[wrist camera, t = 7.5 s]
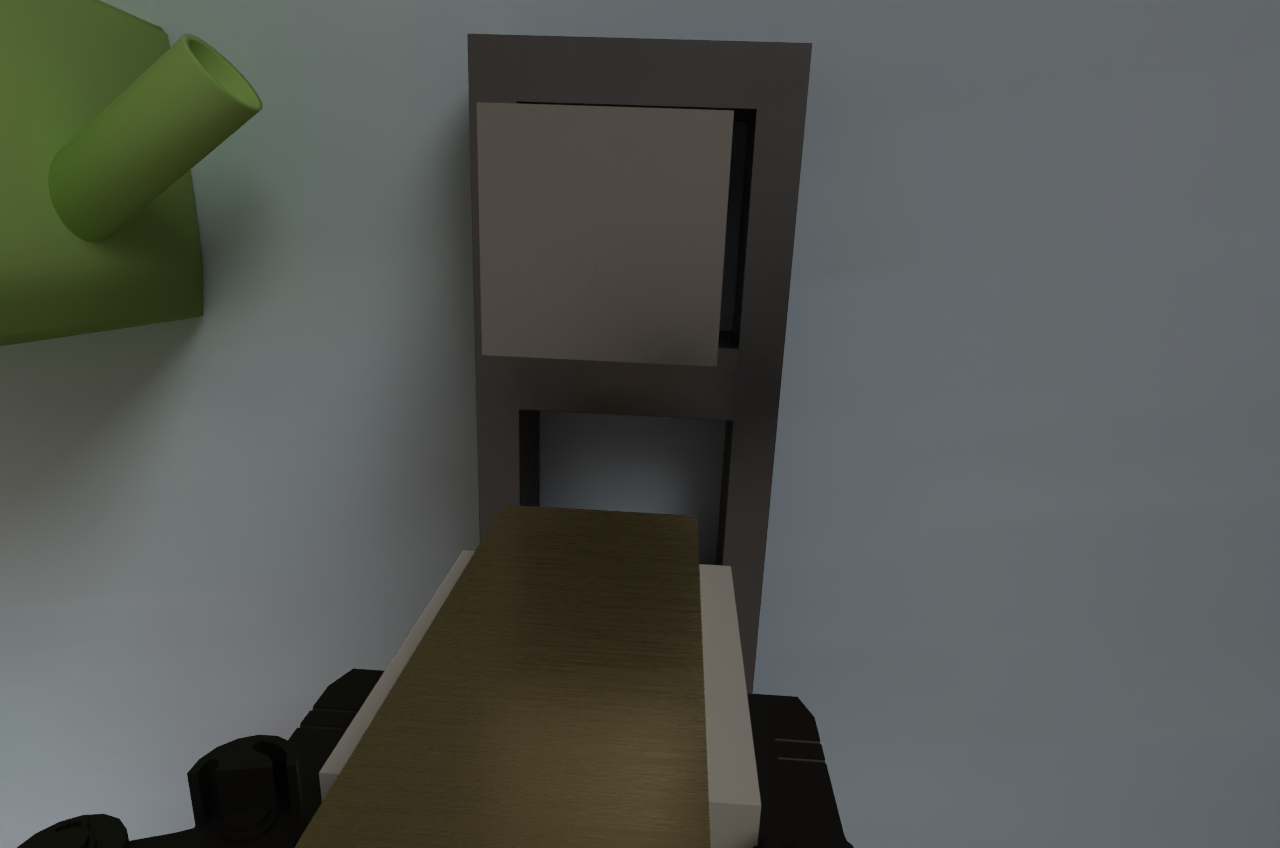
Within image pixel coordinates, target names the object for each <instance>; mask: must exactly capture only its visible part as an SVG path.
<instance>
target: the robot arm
mask: <svg viewBox="0 0 1280 848" xmlns="http://www.w3.org/2000/svg"><path fill="white" fill-rule="evenodd" d="M474 552H475V551H471V550H463V551H462V552H461V554H460V555H459V557H458V558H457V560H456V561H455V563H454V565H453V566H452V568H451V569H450V571H449V572H448V574H447V575H446V577H445V578H444V580H443V582H442V583H441V585H440V586H439V588H438V589H437V591H436V592H435V594H434V595H433V597H432V599H431V600H430V602H429V603H428V605H427V606H426V608H425V609H424V611H423V612H422V614H421V616H420V617H419V619H418V620H417V622H416V623H415V625H414V626H413V628H412V630H411V631H410V633H409V634H408V636H407V637H406V639H405V640H404V642H403V643H402V645H401V647H400V648H399V650H398V651H397V653H396V654H395V656H394V657H393V659H392V660H391V662H390V664H389V665H388V667H387V668H386V670H385V671H380V670H365V669H352V670H351V671H349V672H348V673H346V674H345V675H343V676H342V677H341V678H339V679H338V680H336V681H335V682H333V683H332V684H330V685H329V686H328V687H327V689H326V690H325V691H324V693H323V694H322V695H321V697H320V698H319V699H318V701H317V702H316V703H315V705H314V706H313V710H312V711H309V713H308V714H307V716H306V717H305V718H304V720H303V721H302V722H301V725H300V728H297V729H296V730H295V732H294V733H293V734H292V736H291V737H290V738H289V740H285V739H283V738H281V737H278V736H269V735H255V736H250V737H245V738H239V739H236V740H234V741H231V742H229V743H226V744H224V745H221V746H219V747H217V748H215V749H214V750H212V751H211V752H209V753H208V754H206V755H205V756H203V757H202V758H200V759H199V760H198V761H197V763H196V764H195V765H194V766H193V767H192V768H191V770H190V771H189V772H188V773H187V776H188V782H189V788H190V794H191V800H192V807H193V813H194V819H195V827H194V828H193V829H189V830H185V831H181V832H177V833H172V834H166V835H160V836H155V837H149V838H144V839H138V840H133V841H129V839H128V834H127V829H126V827H125V826H124V825H123V823H122V822H121V820H120V819H118V818H115V817H112V816H109V815H106V814H94V815H82V816H78V817H75V818H72V819H68V820H65V821H61V822H58V823H56V824H54V825H52V826H50V827H48V828H46V829H44V830H42V831H40V832H38V833H36V834H35V835H33V836H32V837H30V838H29V839H28V840H26V841H25V842H24V843H22V844H21V845H20V846H18V847H17V848H295V846H296V844H297V843H298V841H299V839H300V838H301V836H302V834H303V833H304V831H305V830H306V828H307V826H308V825H309V823H310V821H311V820H312V818H313V816H314V815H315V813H316V812H317V810H318V808H319V807H320V805H321V803H322V802H323V800H324V798H325V797H326V795H327V793H328V792H329V790H330V789H331V787H332V785H333V784H334V782H335V780H336V779H337V777H338V775H339V774H340V772H341V771H342V769H343V767H344V766H345V764H346V762H347V761H348V759H349V757H350V756H351V754H352V752H353V751H354V749H355V748H356V746H357V744H358V743H359V741H360V739H361V738H362V736H363V734H364V733H365V731H366V730H367V728H368V726H369V725H370V723H371V721H372V720H373V718H374V716H375V715H376V713H377V712H378V710H379V708H380V707H381V705H382V703H383V702H384V700H385V698H386V697H387V695H388V693H389V692H390V690H391V689H392V687H393V685H394V684H395V682H396V680H397V679H398V677H399V675H400V674H401V672H402V671H403V669H404V667H405V666H406V664H407V662H408V661H409V659H410V657H411V656H412V654H413V652H414V651H415V649H416V648H417V646H418V644H419V643H420V641H421V639H422V638H423V636H424V634H425V633H426V631H427V630H428V628H429V626H430V625H431V623H432V621H433V620H434V618H435V616H436V615H437V613H438V611H439V610H440V608H441V607H442V605H443V603H444V602H445V600H446V598H447V597H448V595H449V593H450V592H451V590H452V589H453V587H454V585H455V584H456V582H457V580H458V579H459V577H460V575H461V574H462V572H463V570H464V569H465V567H466V566H467V564H468V562H469V561H470V559H471V557H472V556H473V554H474ZM699 569H700V593H701V618H702V643H703V668H704V693H705V718H706V743H707V768H708V793H709V818H710V843H711V848H854V847H853V846H852V845H851V844H850V843H849V842H847V840H846V838H845V835H844V832H843V829H842V825H841V821H840V817H839V813H838V809H837V805H836V801H835V797H834V793H833V789H832V785H831V781H830V777H829V773H828V769H827V765H826V764H825V757H824V753H823V749H822V745H821V744H820V738H819V734H818V730H817V726H816V722H815V718H814V716H813V715H812V714H811V713H810V711H809V710H808V709H807V708H806V707H805V705H804V704H803V703H802V702H801V701H800V699H799V698H798V697H792V696H777V695H763V694H748V693H747V689H746V682H745V674H744V666H743V658H742V650H741V642H740V634H739V626H738V618H737V611H736V603H735V595H734V587H733V579H732V571H731V566H720V565H704V564H699Z"/></svg>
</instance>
